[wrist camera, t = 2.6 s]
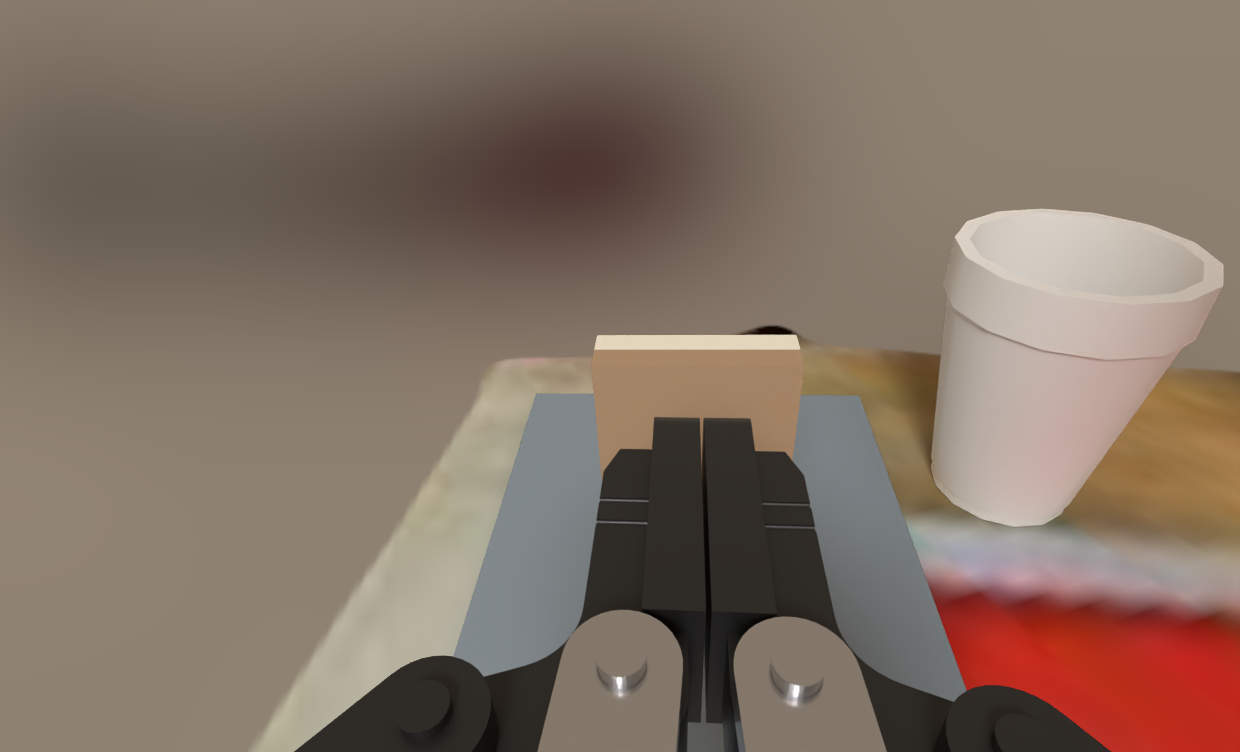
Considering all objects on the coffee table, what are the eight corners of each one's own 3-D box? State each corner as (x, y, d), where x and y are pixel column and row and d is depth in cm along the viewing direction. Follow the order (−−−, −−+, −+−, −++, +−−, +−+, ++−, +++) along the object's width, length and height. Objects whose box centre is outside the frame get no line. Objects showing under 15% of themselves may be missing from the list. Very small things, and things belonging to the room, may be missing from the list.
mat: (857, 403, 41) (859, 395, 40) (1081, 1031, 18) (1089, 1026, 17) (537, 401, 43) (536, 393, 42) (363, 965, 20) (358, 958, 19)
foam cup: (1090, 447, 36) (1194, 221, 29) (1117, 575, 30) (1262, 321, 22) (906, 411, 40) (956, 201, 32) (891, 519, 33) (952, 282, 26)
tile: (617, 584, 30) (597, 335, 22) (767, 589, 29) (796, 334, 22) (614, 618, 28) (590, 364, 21) (771, 625, 28) (804, 365, 20)
